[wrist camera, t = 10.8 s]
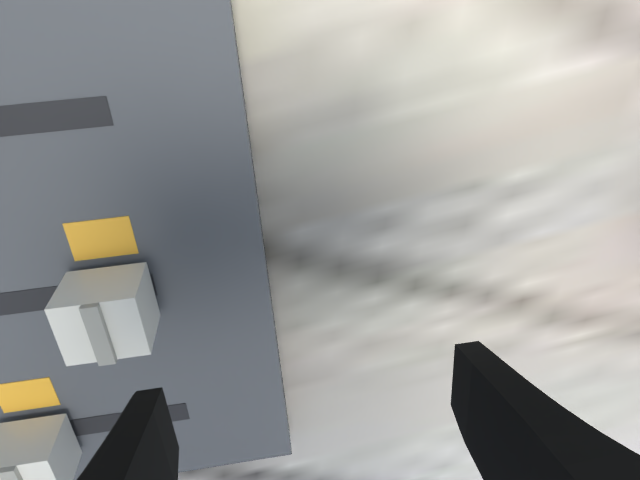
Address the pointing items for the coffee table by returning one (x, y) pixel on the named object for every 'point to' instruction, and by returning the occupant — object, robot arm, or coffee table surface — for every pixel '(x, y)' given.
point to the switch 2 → (104, 314)
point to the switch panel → (136, 219)
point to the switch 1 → (39, 449)
